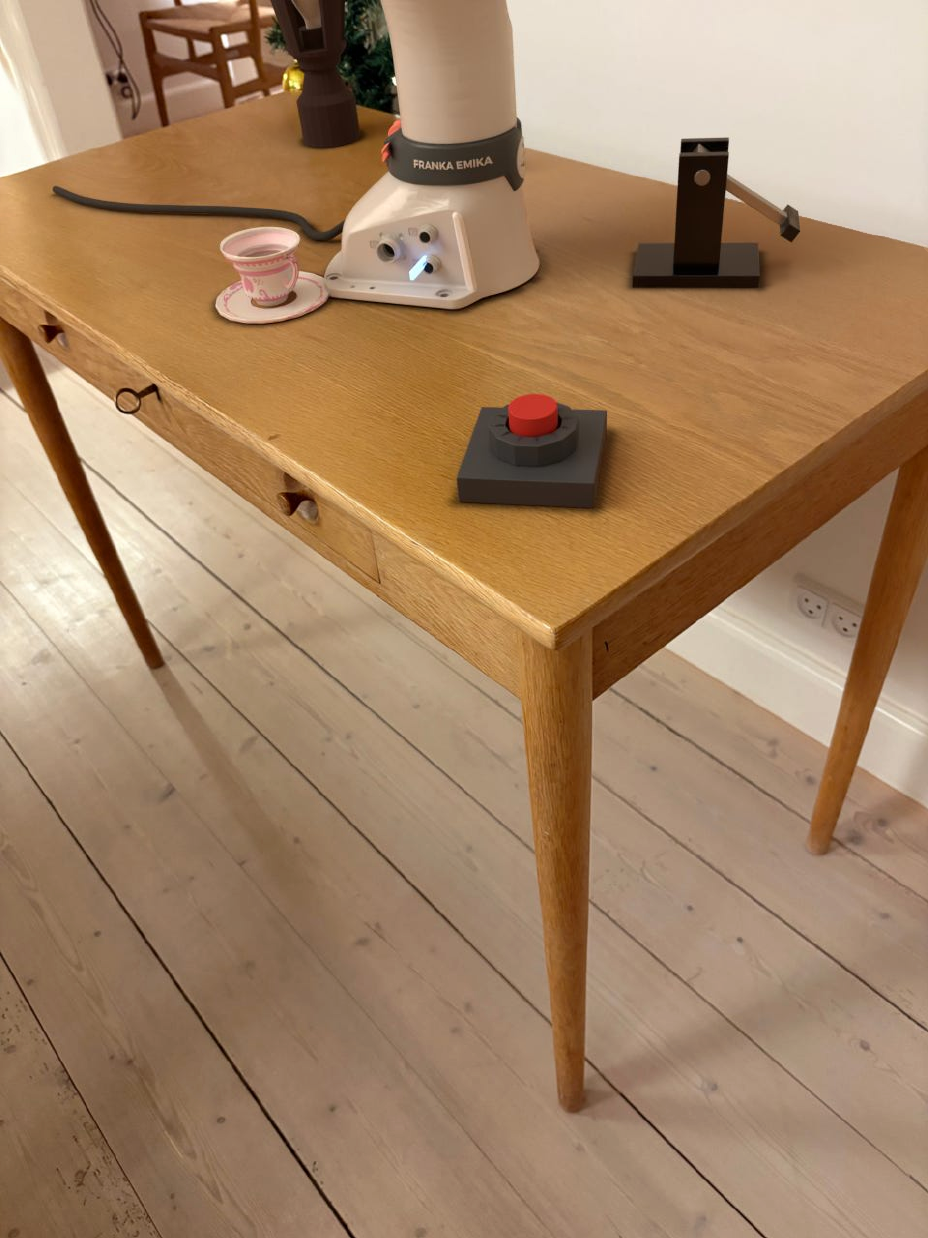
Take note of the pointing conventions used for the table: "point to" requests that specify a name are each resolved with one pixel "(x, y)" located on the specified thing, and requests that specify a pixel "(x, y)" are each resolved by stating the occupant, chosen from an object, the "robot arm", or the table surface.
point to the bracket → (699, 230)
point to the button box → (534, 461)
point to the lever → (764, 206)
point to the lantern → (319, 69)
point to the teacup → (267, 277)
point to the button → (533, 415)
